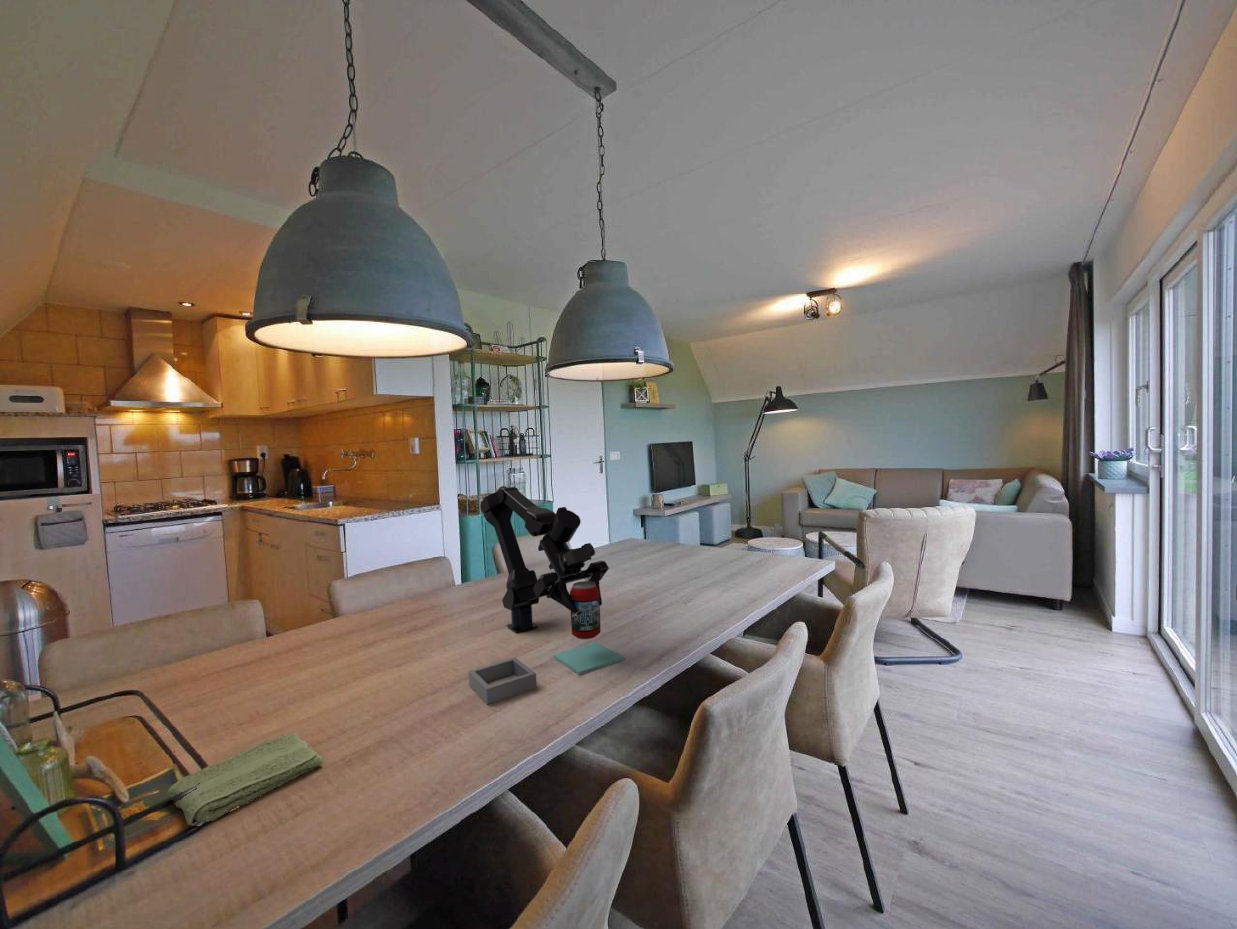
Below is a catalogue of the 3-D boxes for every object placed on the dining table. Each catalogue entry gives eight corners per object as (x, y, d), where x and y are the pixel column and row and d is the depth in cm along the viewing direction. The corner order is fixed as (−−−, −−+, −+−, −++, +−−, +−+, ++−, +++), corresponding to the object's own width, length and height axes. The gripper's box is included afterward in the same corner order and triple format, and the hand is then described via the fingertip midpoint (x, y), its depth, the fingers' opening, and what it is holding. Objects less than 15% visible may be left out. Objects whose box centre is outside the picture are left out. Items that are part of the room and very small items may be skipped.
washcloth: (328, 767, 84) (326, 748, 84) (192, 837, 70) (190, 814, 70) (293, 742, 92) (291, 725, 92) (164, 801, 78) (162, 780, 78)
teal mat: (553, 657, 122) (553, 655, 122) (596, 644, 129) (596, 641, 129) (579, 674, 112) (578, 672, 112) (624, 659, 119) (624, 656, 119)
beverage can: (572, 642, 117) (570, 589, 116) (570, 631, 123) (568, 581, 123) (602, 639, 118) (600, 587, 117) (598, 629, 124) (597, 579, 124)
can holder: (469, 685, 110) (468, 671, 110) (515, 670, 116) (515, 657, 116) (487, 704, 101) (486, 689, 101) (536, 687, 107) (535, 673, 107)
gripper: (537, 540, 116) (568, 598, 109) (602, 527, 129) (634, 580, 121) (521, 569, 123) (549, 626, 115) (584, 554, 135) (614, 606, 127)
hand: (588, 608), depth 119 cm, fingers closed on beverage can, 7 cm apart
